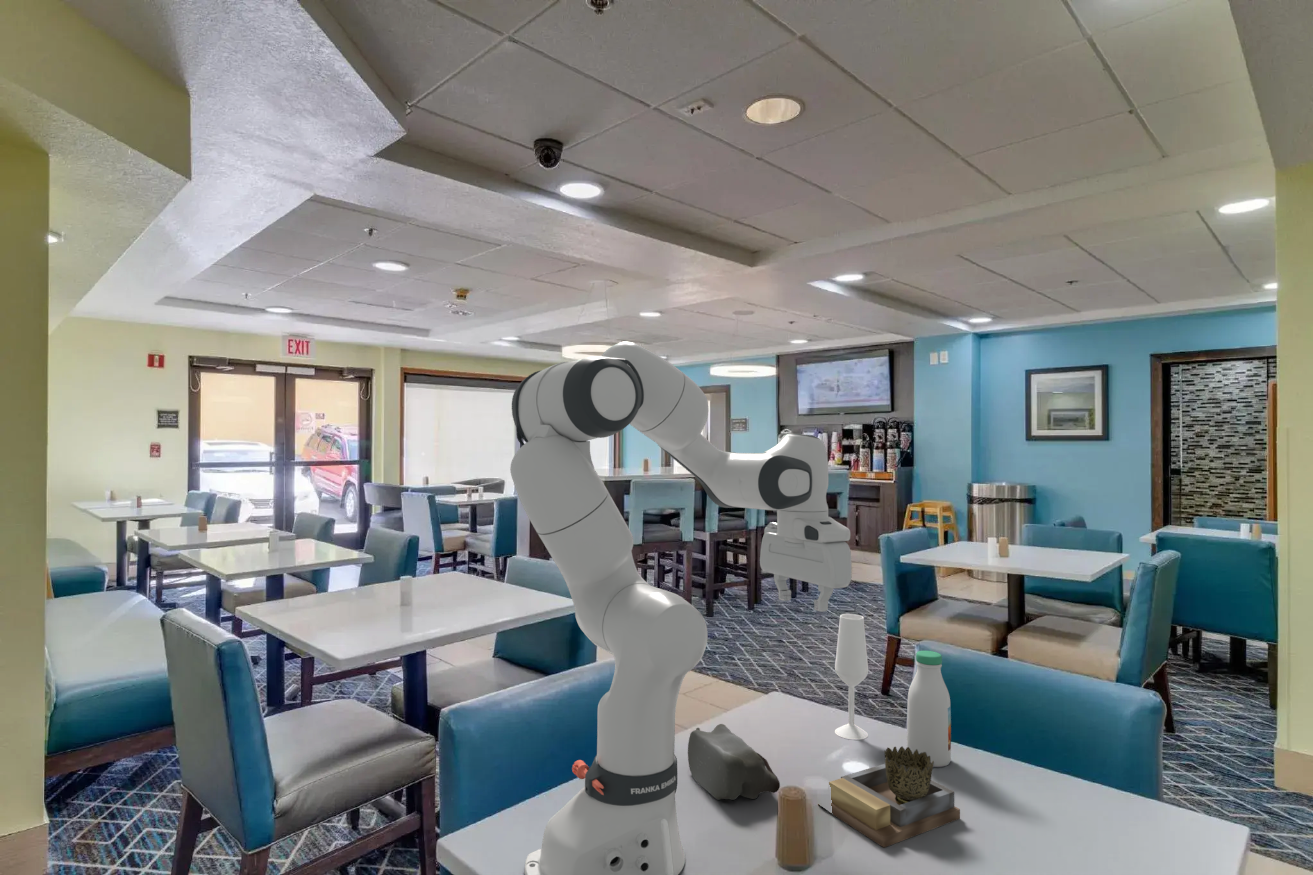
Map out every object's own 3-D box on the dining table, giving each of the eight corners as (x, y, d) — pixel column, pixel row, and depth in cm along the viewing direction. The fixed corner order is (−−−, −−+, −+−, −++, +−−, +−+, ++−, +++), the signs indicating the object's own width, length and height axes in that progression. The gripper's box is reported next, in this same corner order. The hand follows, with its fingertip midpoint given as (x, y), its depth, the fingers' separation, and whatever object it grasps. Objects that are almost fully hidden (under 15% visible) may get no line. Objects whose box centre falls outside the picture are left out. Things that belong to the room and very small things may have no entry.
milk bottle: (944, 772, 127) (944, 661, 127) (901, 760, 132) (901, 654, 132) (955, 757, 133) (955, 652, 133) (914, 747, 138) (914, 645, 138)
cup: (936, 820, 107) (938, 768, 108) (887, 814, 109) (888, 763, 109) (925, 796, 115) (927, 748, 115) (879, 791, 116) (881, 743, 116)
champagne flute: (828, 728, 147) (828, 613, 147) (856, 725, 149) (856, 611, 149) (846, 741, 140) (846, 621, 141) (875, 737, 142) (875, 619, 143)
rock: (789, 802, 116) (789, 754, 116) (730, 816, 111) (730, 766, 112) (734, 757, 133) (734, 716, 133) (681, 768, 128) (681, 724, 128)
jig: (884, 847, 103) (884, 816, 103) (818, 805, 115) (818, 777, 115) (959, 818, 111) (960, 790, 111) (890, 781, 123) (891, 756, 123)
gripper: (752, 521, 130) (751, 595, 130) (829, 533, 113) (829, 619, 112) (778, 520, 134) (778, 592, 133) (858, 531, 116) (857, 615, 115)
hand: (802, 605), depth 123 cm, fingers open, 8 cm apart
